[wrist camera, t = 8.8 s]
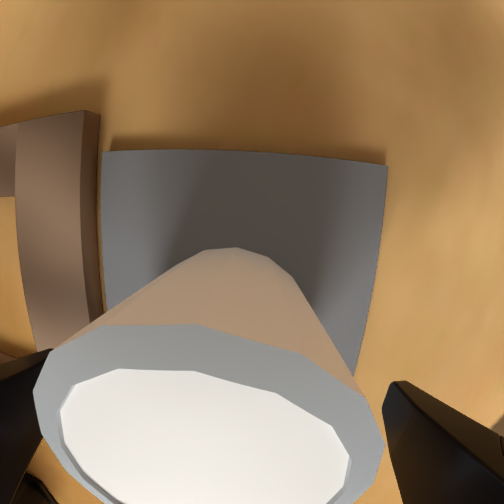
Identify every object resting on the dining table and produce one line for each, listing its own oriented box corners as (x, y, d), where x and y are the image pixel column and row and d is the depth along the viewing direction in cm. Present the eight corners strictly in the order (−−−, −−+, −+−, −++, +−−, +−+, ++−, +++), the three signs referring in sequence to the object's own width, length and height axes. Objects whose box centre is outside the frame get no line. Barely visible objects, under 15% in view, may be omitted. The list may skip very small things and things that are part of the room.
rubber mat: (333, 429, 13) (335, 436, 13) (130, 411, 13) (126, 418, 13) (382, 165, 10) (387, 165, 10) (108, 152, 10) (102, 151, 10)
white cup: (113, 259, 11) (-22, 351, 4) (298, 203, 10) (368, 260, 3) (180, 405, 12) (136, 539, 6) (338, 373, 12) (385, 520, 5)
